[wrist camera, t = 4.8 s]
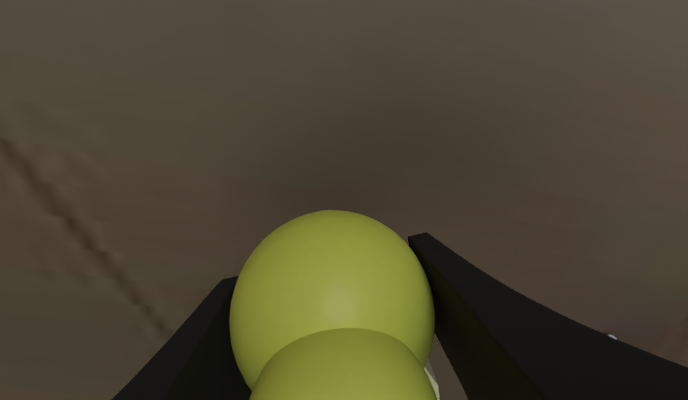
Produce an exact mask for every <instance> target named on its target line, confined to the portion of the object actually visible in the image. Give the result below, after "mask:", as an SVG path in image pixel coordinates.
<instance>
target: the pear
mask: <svg viewBox="0 0 688 400" xmlns="http://www.w3.org/2000/svg"><path fill="white" fill-rule="evenodd" d="M229 327H230V338H231V346H232V349H233V353H234V356H235V360H236V363H237V366H238V368H239V370H240V372H241V374H242V376H243V378H244V380H245V382H246V384H247V385H248V387H249V388H250V389H251V391H252V393H251V396H250V398H249V400H437V396H436V393H435V391H434V388H433V386H432V384H431V382H430V379H429V377H428V375H427V373H426V371H425V370H424V368H425V366H426V363H427V361H428V358H429V355H430V351H431V347H432V343H433V338H434V328H435V311H434V302H433V296H432V292H431V288H430V285H429V281H428V279H427V276H426V274H425V271H424V269H423V267H422V265H421V263H420V262H419V260H418V258H417V257H416V255H415V254H414V252H413V251H412V249H411V248H410V247H409V246H408V245H407V244H406V242H405V241H404V240H403V239H402V238H401V237H400V236H398V235H397V234H396V233H395V232H394V231H393V230H391V229H390V228H388V227H386V226H385V225H383V224H382V223H380V222H379V221H377V220H374V219H372V218H370V217H368V216H364V215H361V214H358V213H353V212H348V211H338V210H323V211H318V212H313V213H309V214H306V215H303V216H300V217H298V218H295V219H293V220H291V221H288V222H287V223H285V224H283V225H282V226H280V227H278V228H277V229H276V230H274V231H273V232H272V233H270V234H269V235H268V236H267V237H266V238H265V239H264V240H263V241H262V242H261V243H260V244H259V245H258V246H257V247H256V249H255V250H254V251H253V253H252V254H251V255H250V257H249V258H248V260H247V261H246V263H245V265H244V267H243V269H242V270H241V273H240V275H239V277H238V279H237V282H236V285H235V288H234V292H233V296H232V300H231V307H230V319H229Z"/></svg>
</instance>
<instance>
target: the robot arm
mask: <svg viewBox="0 0 688 400" xmlns="http://www.w3.org/2000/svg"><path fill="white" fill-rule="evenodd" d="M408 242H409V247H410V248H411V249H412V251H413V252H414V254H415V255H416V257H417V258H418V260H419V262H420V263H421V265H422V267H423V269H424V271H425V274H426V276H427V279H428V281H429V285H430V288H431V292H432V296H433V302H434V311H435V328H434V332H435V334H436V336H437V338H438V340H439V342H440V344H441V346H442V348H443V350H444V351H445V353H446V355H447V357H448V359H449V361H450V363H451V365H452V367H453V369H454V371H455V373H456V375H457V377H458V379H459V381H460V382H461V385H462V387H463V389H464V391H465V393H466V395H467V397H468V399H469V400H688V368H687V367H685V366H682V365H679V364H677V363H674V362H671V361H669V360H666V359H663V358H661V357H658V356H656V355H653V354H651V353H648V352H646V351H643V350H641V349H638V348H636V347H633V346H631V345H628V344H626V343H624V342H621V341H619V340H617V338H615V337H614V336H613V335H605V334H603V333H600V332H598V331H596V330H594V329H591V328H589V327H587V326H584V325H582V324H580V323H578V322H576V321H574V320H571V319H569V318H567V317H565V316H563V315H561V314H559V313H557V312H555V311H553V310H551V309H549V308H547V307H545V306H543V305H541V304H539V303H537V302H535V301H533V300H531V299H529V298H527V297H525V296H524V295H522V294H520V293H518V292H516V291H515V290H513V289H511V288H509V287H508V286H506V285H504V284H503V283H501V282H499V281H497V280H496V279H494V278H493V277H491V276H489V275H488V274H486V273H485V272H483V271H482V270H480V269H479V268H477V267H475V266H474V265H472V264H471V263H469V262H468V261H466V260H465V259H463V258H462V257H460V256H459V255H458V254H456V253H455V252H453V251H452V250H451V249H449V248H448V247H446V246H445V245H444V244H442V243H441V242H439V241H438V240H437V239H435V238H434V237H433V236H431V235H430V234H428V233H427V232H426V233H422V234H417V235H413V236H409V237H408ZM238 277H239V276H236V277H232V278H227V279H223V280H221V282H220V283H219V284H218V285H217V286H216V287H215V288H214V289H213V290H212V291H211V292H210V293H209V295H208V296H207V297H206V298H205V299H204V300H203V302H202V303H201V304H200V305H199V306H198V307H197V309H196V310H195V311H194V312H193V313H192V314H191V315H190V317H189V318H188V319H187V320H186V321H185V322H184V323H183V325H182V326H181V327H180V328H179V329H178V330H177V331H176V333H175V334H174V335H173V336H172V337H171V338H170V339H169V340H168V342H167V343H166V344H165V345H164V346H163V347H162V348H161V349H160V350H159V351H158V352H157V353H156V354H155V356H154V357H153V358H152V359H151V360H150V361H149V362H148V363H147V364H146V365H145V366H144V367H143V368H142V369H141V371H140V372H139V373H138V374H137V375H136V376H135V377H134V378H133V379H132V380H131V381H130V382H129V383H128V384H127V385H126V386H125V387H124V388H123V389H122V390H121V391H120V392H119V393H118V394H117V395H116V396H115V397H114V398H113V399H112V400H249V398H250V396H251V393H252V391H251V389H250V388H249V387H248V385H247V384H246V382H245V380H244V378H243V376H242V374H241V372H240V370H239V368H238V366H237V363H236V360H235V356H234V353H233V349H232V346H231V338H230V327H229V319H230V307H231V300H232V296H233V292H234V288H235V285H236V282H237V279H238Z"/></svg>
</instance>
